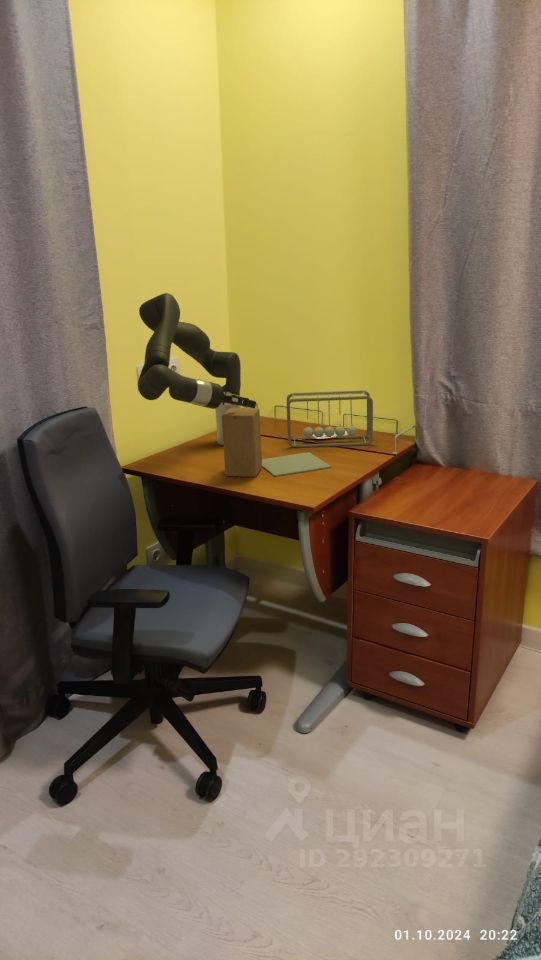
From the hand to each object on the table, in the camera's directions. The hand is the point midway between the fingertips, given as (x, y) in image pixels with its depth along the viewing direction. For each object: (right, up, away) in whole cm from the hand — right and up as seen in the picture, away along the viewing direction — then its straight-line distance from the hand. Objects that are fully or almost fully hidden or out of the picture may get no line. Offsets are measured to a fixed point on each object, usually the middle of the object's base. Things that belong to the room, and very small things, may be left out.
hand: (246, 403), depth 217 cm
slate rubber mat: (+15, -18, +16) cm, 28 cm away
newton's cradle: (+29, -10, +39) cm, 50 cm away
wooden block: (-1, -21, +11) cm, 24 cm away
